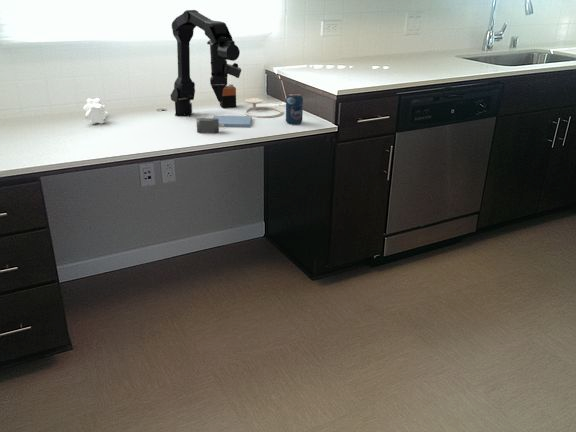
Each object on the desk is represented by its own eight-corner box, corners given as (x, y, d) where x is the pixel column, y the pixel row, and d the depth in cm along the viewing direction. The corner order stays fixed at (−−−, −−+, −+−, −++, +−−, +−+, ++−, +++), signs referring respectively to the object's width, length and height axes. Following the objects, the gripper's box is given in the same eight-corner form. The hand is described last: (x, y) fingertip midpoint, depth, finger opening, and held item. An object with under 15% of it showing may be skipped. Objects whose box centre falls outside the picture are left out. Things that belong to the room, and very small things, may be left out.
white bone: (108, 125, 223) (108, 105, 219) (86, 125, 219) (85, 105, 216) (105, 116, 235) (104, 97, 232) (83, 115, 232) (82, 96, 229)
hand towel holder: (257, 110, 230) (233, 100, 245) (257, 120, 232) (233, 110, 247) (290, 105, 239) (264, 96, 254) (290, 115, 241) (264, 105, 256)
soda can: (292, 126, 224) (293, 97, 219) (282, 122, 229) (282, 93, 224) (305, 123, 228) (306, 94, 223) (295, 119, 233) (295, 91, 228)
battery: (236, 107, 251) (236, 85, 247) (222, 108, 248) (221, 86, 244) (233, 105, 255) (233, 83, 250) (219, 106, 252) (218, 84, 248)
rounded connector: (196, 133, 213) (195, 120, 210) (197, 130, 216) (197, 118, 214) (223, 133, 213) (223, 120, 211) (224, 130, 216) (224, 118, 214)
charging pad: (210, 126, 221) (210, 123, 221) (214, 118, 233) (214, 115, 232) (249, 127, 221) (249, 124, 221) (251, 118, 233) (251, 116, 233)
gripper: (240, 61, 197) (241, 104, 204) (239, 54, 214) (240, 94, 221) (209, 61, 196) (211, 104, 203) (210, 54, 213) (213, 94, 220)
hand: (220, 99), depth 212 cm, fingers open, 9 cm apart
